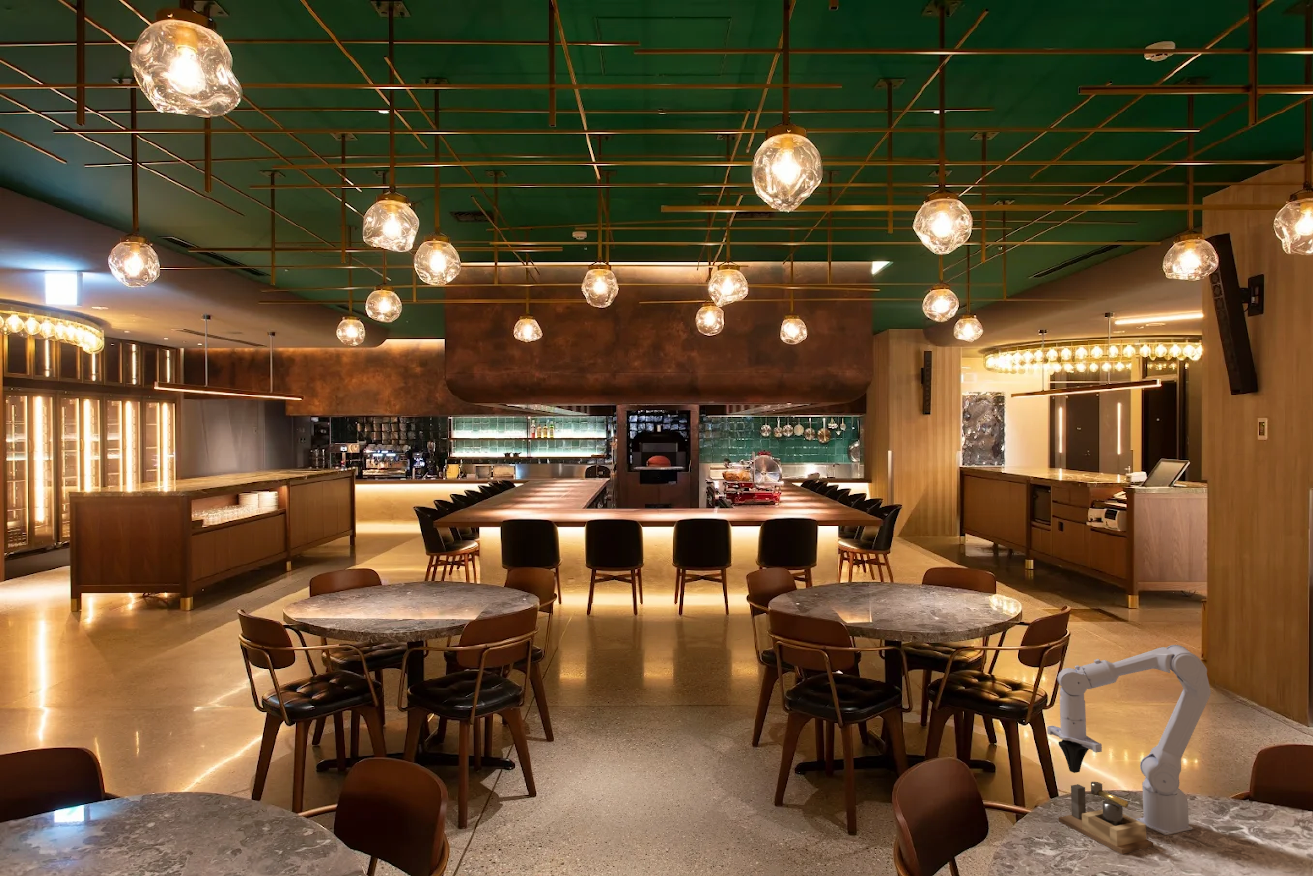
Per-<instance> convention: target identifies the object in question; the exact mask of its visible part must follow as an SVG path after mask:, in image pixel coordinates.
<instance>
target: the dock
mask: <svg viewBox="0 0 1313 876" xmlns="http://www.w3.org/2000/svg"><path fill="white" fill-rule="evenodd" d="M1070 796H1071V797H1070V798H1071V799H1070V800H1071V802H1070V803H1071V814H1069V815H1063V816H1059V817H1058V822H1059V823H1061V824H1062V825H1065V826H1066V827H1069V828H1070V829H1072V830H1075V831H1077V832H1078V833H1080V834H1082V835H1084V836H1086V837H1088V838H1090V839H1092V840H1094V841H1096V842H1097V843H1099V844H1101V845H1104V846H1105V847H1107V848H1109V849H1111V850H1112V851H1115V852H1117V853H1119V854H1121V855H1123V854H1128V853H1133V852H1138V851H1143V850H1147V849H1150V848H1154V842H1153V841H1152V840H1149V839H1148V838H1147V826H1146V824H1144V823H1141V822H1139V821H1137V820H1135V819H1136V818H1135V819H1134V818H1133V817H1130V816H1128V815H1127V814H1124V813H1123V825H1118V826H1114V825H1112V824H1110V823H1108V822H1106V821H1104V820H1103V808H1101V809H1097V810H1094V811H1093V810H1092V811H1087V810H1086V809H1087V808H1086V807H1087V805H1086V802H1087V801H1086V787H1085V786H1084V785H1080V784H1079V783H1078V784H1072V785H1070Z"/></svg>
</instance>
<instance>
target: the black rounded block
mask: <svg viewBox="0 0 1313 876" xmlns="http://www.w3.org/2000/svg"><path fill="white" fill-rule="evenodd" d="M1102 809H1103V820H1104V821H1106V822H1108V823H1110V824H1112V825H1114V826H1118V825H1123V814H1124V813H1123V806H1121V805H1119V804H1117V803H1115V802H1112V801H1110V800H1108V799H1105V800H1104V799H1103V800H1102Z"/></svg>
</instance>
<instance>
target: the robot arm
mask: <svg viewBox="0 0 1313 876" xmlns="http://www.w3.org/2000/svg"><path fill="white" fill-rule="evenodd" d="M1153 669H1154V670H1158V671H1161V672H1165V673H1168V674H1171V672H1173V674H1174V675H1175V676H1176V678H1177V681H1178V682H1179V683H1180V685H1181V687H1182V691H1181V693H1180V695H1179V698H1178V699H1177V702H1176V704H1175V706H1174V708H1173V711H1172V713H1171V714H1170V718H1169V720H1168V721H1167V723H1166V726H1165V728H1164V730H1163V732H1162V734H1161V736H1160V739H1159V741H1158V744H1157V745H1156V746H1154V747H1152V748H1151V750H1150V752H1149V754H1147V755H1145V756H1144V757H1143V758H1142V759H1141V761H1140V762H1139V763H1140V764H1139V768H1140V771H1141V773H1142V774H1143V776H1145V777H1144V780H1143V782H1142V784H1141V785H1142V807H1143V809H1142V810H1143V817H1140V818H1139V817H1138V818H1135V820H1137V821H1139V822H1141V823H1144V824H1146V828H1149V829H1151V830H1153V831H1156V832H1157V833H1160V834H1162V835H1165V836H1168V835H1169V836H1170V835H1174V834H1177V833H1182V832H1186V831H1191V830H1193V826H1190V823H1189V822H1190V820H1189V801H1188V798H1187V796H1186V794H1185V793H1184V791H1182V789H1180V773H1181V772H1182V757H1183V755H1184V753H1185V751H1186V749H1187V746H1188V744H1189V742H1190V739H1192V736H1193V733H1194V731H1195V729H1196V727H1197V724H1198V723H1199V720H1200V719H1201V716H1202V714H1203V712H1204V710H1205V707H1206V706H1207V703H1208V702H1209V699H1210V697H1211V694H1212V693H1211V692H1212V690H1211V686H1210V682H1209V677H1208V674H1207V673H1208V668H1207V667H1206V666H1205V664H1204V662H1203V661H1202V660H1201V659H1200V657H1199V656H1197V655H1196V654H1195V653H1192V652H1191V651H1189V650H1188V649H1187V648H1186V647H1185V646H1182V645H1179V644H1170V645H1169V646H1167V647H1165V646H1164V647H1163V646H1162V647H1158V648H1155V649H1152V650H1149V651H1146V652H1143V653H1140V654H1137V655H1134V656H1130V657H1126V658H1124V659H1122V660H1117V661H1115V662H1111V661H1108V660H1107V659H1103V660H1102V659H1101V660H1100V659H1099V658H1096V659H1093V662H1092V663H1088V664H1084V665H1081V666H1080V665H1079V664H1077V665H1074V668H1071V667H1066V668H1063V669H1061V670H1060V671H1059V673H1058V675H1057V677H1056V680H1057V683H1058V684H1059V686H1060V688H1059V695H1060V696H1059V715H1060V716H1059V717H1060V719H1059V721H1060V727H1058V726H1055V725H1048V726H1046V728H1047V732H1046V733H1047V735H1050V736H1051V735H1052V736H1056V737H1058V738H1059V739H1060V740H1061V741H1058V746H1059V748H1060V750H1061V751H1062V753H1063V755H1064V756H1065V759H1066V763H1067V767H1068V771H1069V772H1071V773H1074V774H1076V773H1080V771H1081V767H1082V764H1083V761H1084V758H1085V756H1086V755H1087V753H1088V752H1089V750H1091V751H1092V752H1094V753H1101V752H1103V749H1102V748H1103V747H1102V743H1100V742H1098V741H1096V740H1095V739H1093V738H1091V737H1089V736H1088V735H1087V717H1086V716H1087V715H1086V701H1085V693H1086V691H1087V690H1092V689H1096V688H1100V687H1104V686H1107V685H1111V684H1115V683H1116V682H1117V681H1118V679H1119V678H1120V676H1124V675H1126V676H1127V675H1130V674H1134V673H1140V672H1143V671H1148V670H1153Z"/></svg>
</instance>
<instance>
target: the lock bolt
mask: <svg viewBox="0 0 1313 876" xmlns="http://www.w3.org/2000/svg"><path fill="white" fill-rule="evenodd" d="M1090 793H1091V794H1092V795H1094V796H1097V797H1100V798H1101V797H1102V798H1103V799H1105V800H1110V801H1112V802H1115V803H1117V804H1119V805H1121V806H1122V808H1128V807H1129V802H1128V801H1127V800H1125V799H1122V798H1121V797H1118V796H1115V795H1113V794H1111V793H1110V792H1107V791H1105V790H1103V784H1102V783H1101V782H1098V781H1091V782H1090Z"/></svg>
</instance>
